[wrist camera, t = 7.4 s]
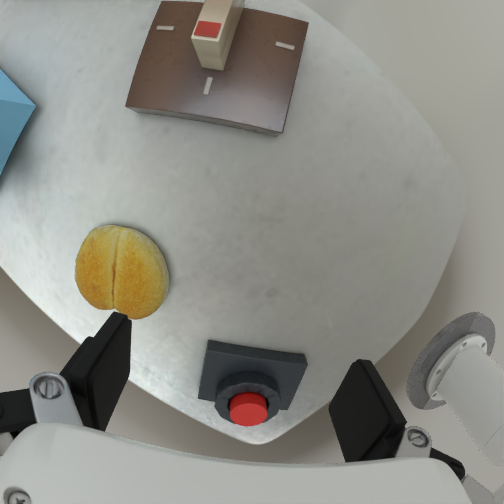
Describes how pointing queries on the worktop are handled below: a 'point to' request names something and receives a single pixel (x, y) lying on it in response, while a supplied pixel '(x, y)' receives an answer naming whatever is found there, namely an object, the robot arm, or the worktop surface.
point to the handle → (216, 31)
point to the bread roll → (122, 271)
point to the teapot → (11, 116)
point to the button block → (250, 376)
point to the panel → (216, 81)
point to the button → (248, 409)
